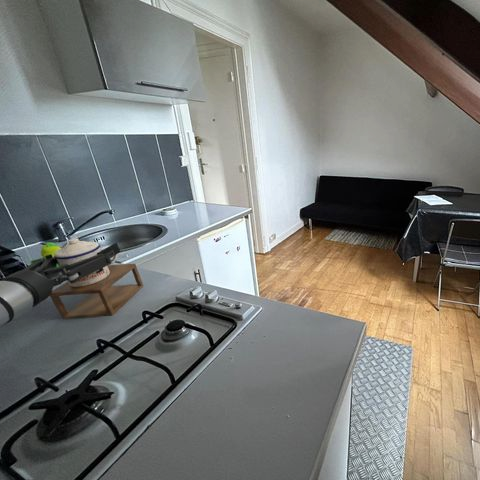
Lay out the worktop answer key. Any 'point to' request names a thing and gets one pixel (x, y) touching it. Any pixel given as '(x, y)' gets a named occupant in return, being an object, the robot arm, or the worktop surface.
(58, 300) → the rack
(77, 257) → the teacup with lid
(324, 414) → the worktop surface
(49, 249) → the fruit basket
